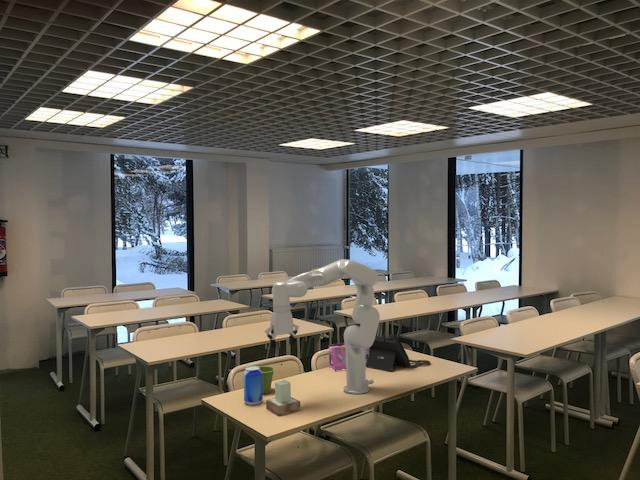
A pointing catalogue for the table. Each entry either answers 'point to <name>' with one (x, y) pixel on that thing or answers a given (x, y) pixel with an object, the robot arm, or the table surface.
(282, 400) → the green block
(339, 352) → the gum box
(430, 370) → the table surface
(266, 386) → the plant pot
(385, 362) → the office phone
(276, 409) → the base block
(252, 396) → the beer can
